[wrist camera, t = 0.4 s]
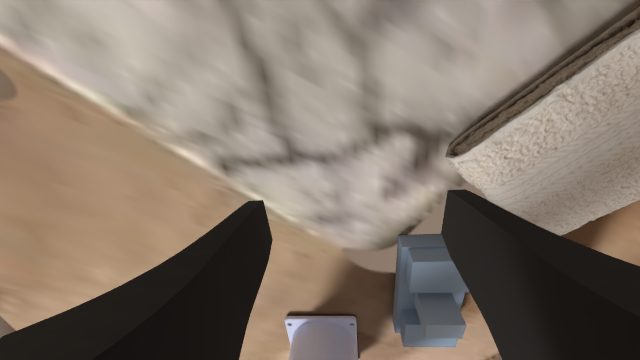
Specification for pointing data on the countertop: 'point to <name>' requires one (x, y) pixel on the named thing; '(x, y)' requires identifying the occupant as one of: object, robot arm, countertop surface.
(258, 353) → the countertop surface
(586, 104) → the washcloth
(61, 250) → the countertop surface
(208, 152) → the countertop surface
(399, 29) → the countertop surface
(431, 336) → the display stand
